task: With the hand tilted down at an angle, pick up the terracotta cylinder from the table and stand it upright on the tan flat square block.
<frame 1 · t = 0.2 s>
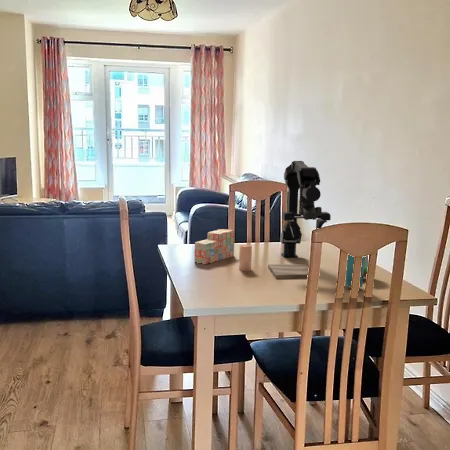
hand: (305, 237, 212), 15 cm above the table, tool pointing down, fingers open, 9 cm apart
stack of blocks: (214, 260, 234), on the table
food container: (365, 278, 208), on the table
tan flat square block: (291, 272, 214), on the table
terracotta cylinder: (245, 269, 218), on the table
beverage bottle: (353, 289, 193), on the table
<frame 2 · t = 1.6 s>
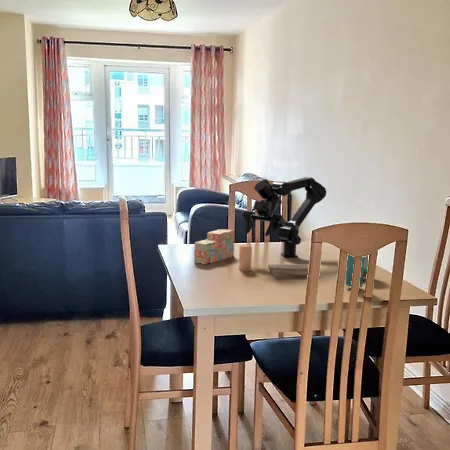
hand: (256, 234, 222), 13 cm above the table, tool tilted 45°, fingers open, 9 cm apart
nothing on the table moved.
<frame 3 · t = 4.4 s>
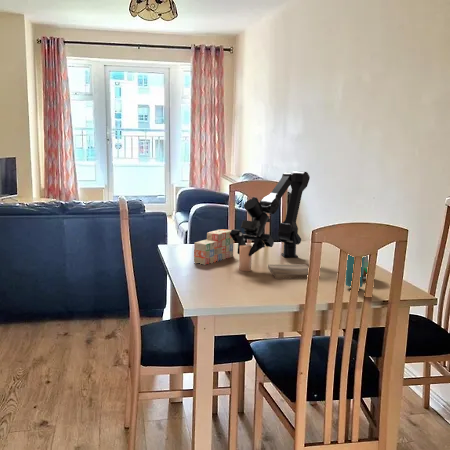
hand: (243, 254, 215), 7 cm above the table, tool tilted 45°, fingers closed on terracotta cylinder, 5 cm apart
terracotta cylinder: (245, 269, 218), on the table, touching gripper
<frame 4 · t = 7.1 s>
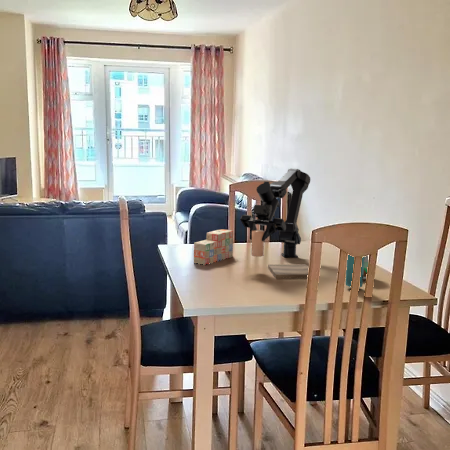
hand: (256, 239, 212), 13 cm above the table, tool tilted 45°, fingers closed on terracotta cylinder, 5 cm apart
terracotta cylinder: (257, 255, 214), point 7 cm above the table, touching gripper
when the fingers open (9 cm above the table, at t = 9.9 s): terracotta cylinder drops 1 cm, resting on tan flat square block.
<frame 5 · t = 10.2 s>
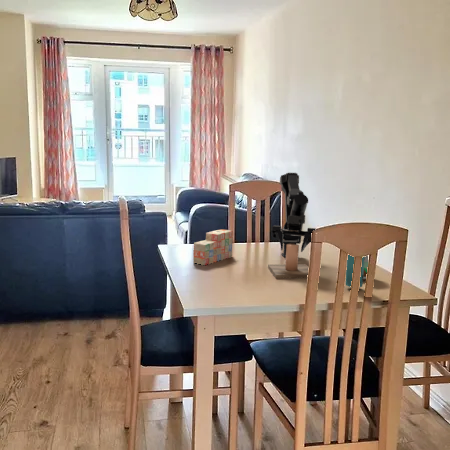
hand: (291, 250, 211), 10 cm above the table, tool tilted 45°, fingers open, 8 cm apart
terracotta cylinder: (291, 269, 213), point 2 cm above the table, touching tan flat square block
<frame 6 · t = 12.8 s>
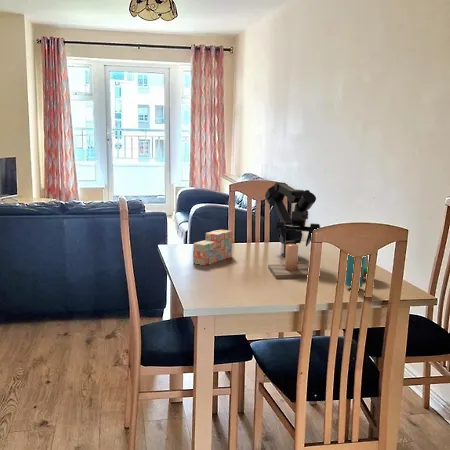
hand: (295, 245, 220), 10 cm above the table, tool tilted 45°, fingers open, 9 cm apart
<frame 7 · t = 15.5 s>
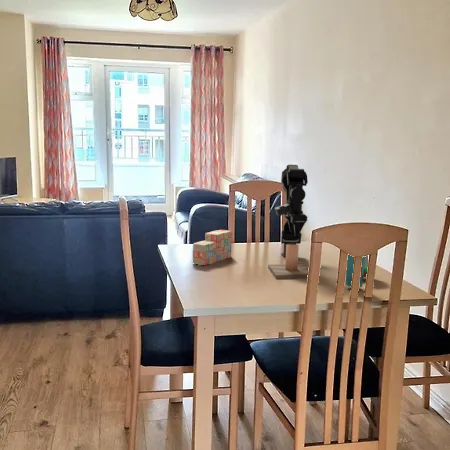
hand: (293, 234, 225), 13 cm above the table, tool pointing down, fingers open, 9 cm apart
at the end: terracotta cylinder inside the target area on the tan flat square block (0.1 cm from its centre), point 1.5 cm above the tan flat square block's base; terracotta cylinder tilted 1°; the gripper is holding nothing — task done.
